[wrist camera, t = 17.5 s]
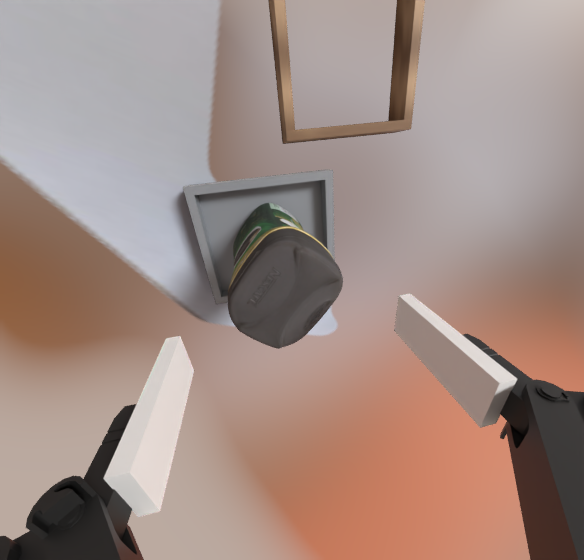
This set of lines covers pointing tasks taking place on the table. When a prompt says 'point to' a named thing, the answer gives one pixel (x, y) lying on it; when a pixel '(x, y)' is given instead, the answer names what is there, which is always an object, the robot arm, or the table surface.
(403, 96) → the walnut frame
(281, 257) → the coffee jar
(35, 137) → the table surface
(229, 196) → the slate tray
